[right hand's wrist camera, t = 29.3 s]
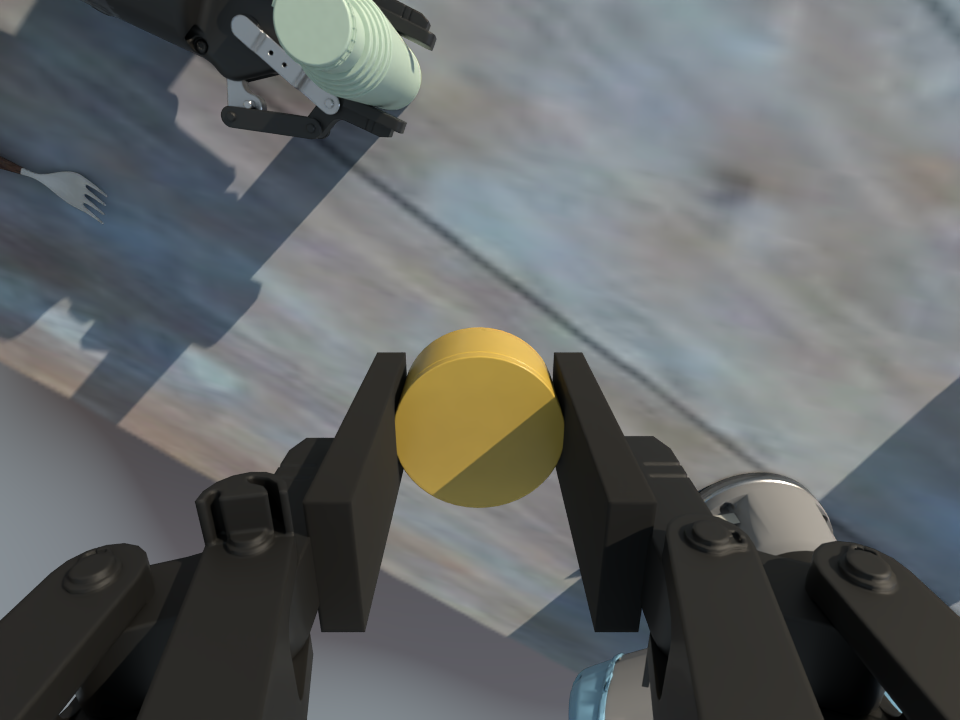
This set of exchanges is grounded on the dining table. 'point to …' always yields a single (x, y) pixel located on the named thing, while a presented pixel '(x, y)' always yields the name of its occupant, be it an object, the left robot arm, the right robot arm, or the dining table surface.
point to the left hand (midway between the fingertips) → (416, 86)
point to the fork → (62, 186)
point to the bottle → (348, 50)
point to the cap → (479, 419)
